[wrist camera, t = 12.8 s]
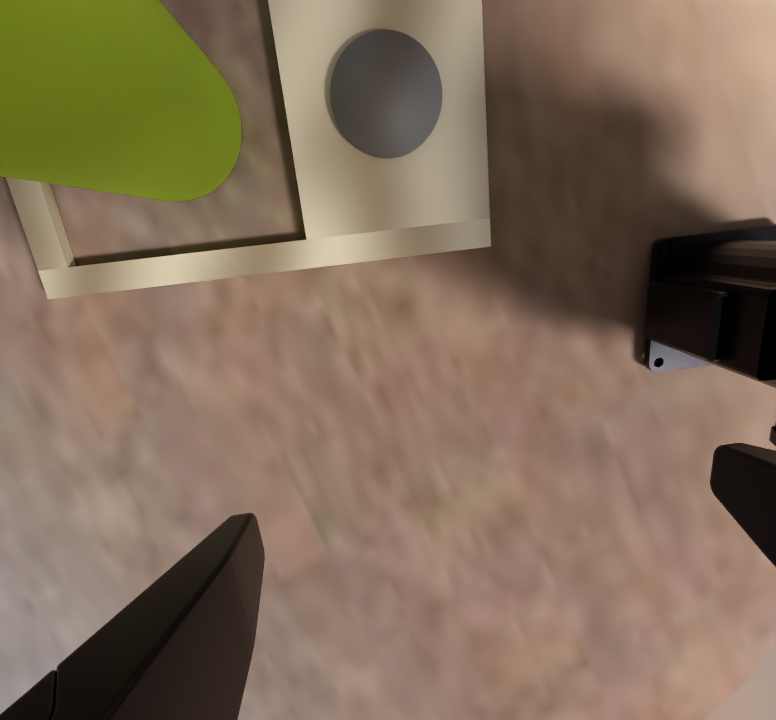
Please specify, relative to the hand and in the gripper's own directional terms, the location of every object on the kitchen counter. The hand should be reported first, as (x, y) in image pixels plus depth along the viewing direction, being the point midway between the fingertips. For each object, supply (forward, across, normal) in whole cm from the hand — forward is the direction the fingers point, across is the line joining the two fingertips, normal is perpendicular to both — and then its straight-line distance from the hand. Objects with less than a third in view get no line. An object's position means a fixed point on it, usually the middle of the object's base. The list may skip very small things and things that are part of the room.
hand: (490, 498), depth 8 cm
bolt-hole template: (+13, +6, -10) cm, 17 cm away
